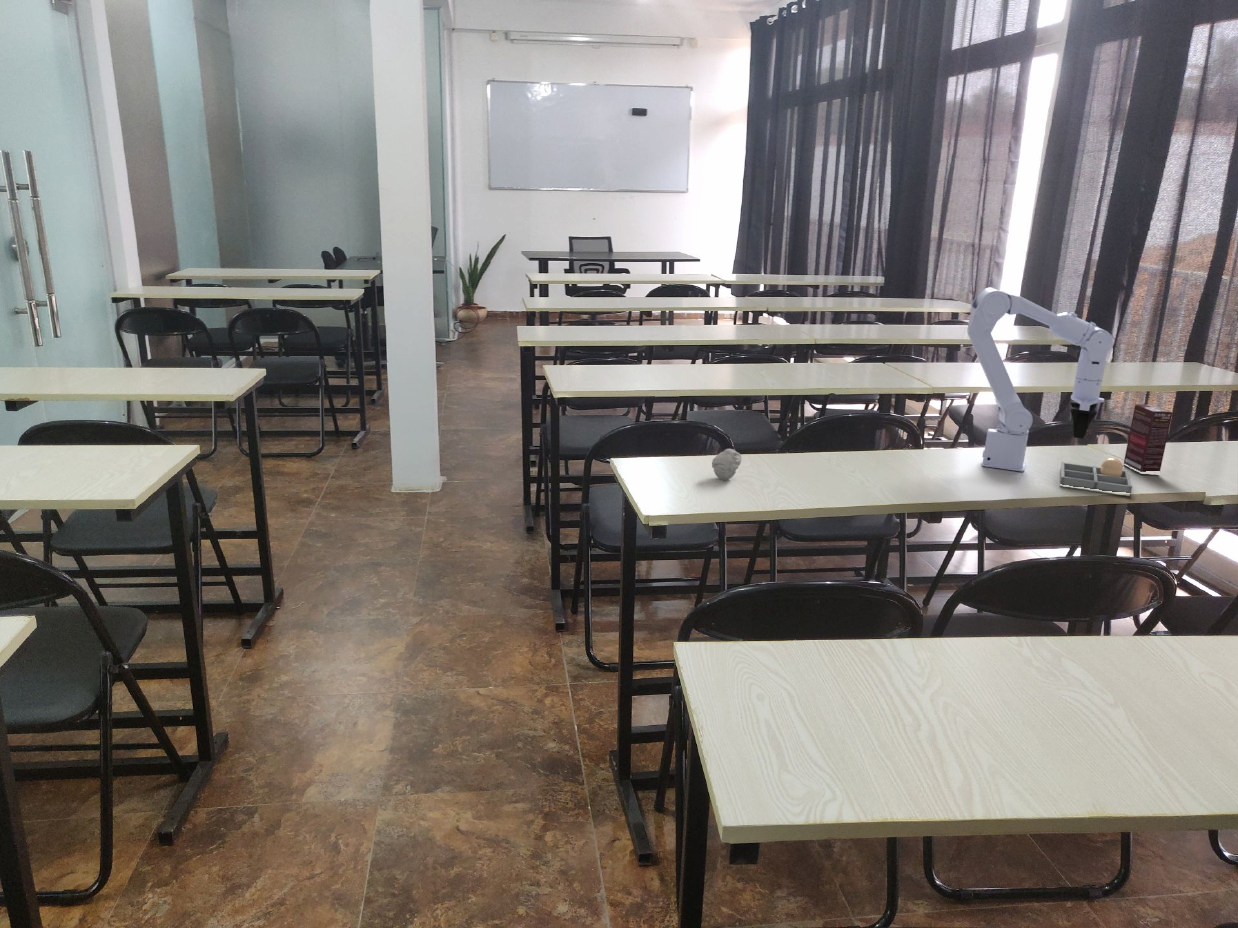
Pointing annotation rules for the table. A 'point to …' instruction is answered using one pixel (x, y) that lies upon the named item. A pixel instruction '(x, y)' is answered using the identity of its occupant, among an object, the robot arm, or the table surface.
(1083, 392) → the robot arm
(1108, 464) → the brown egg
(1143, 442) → the supplement box
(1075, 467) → the gray divided compartment tray
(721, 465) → the grey rounded lump
